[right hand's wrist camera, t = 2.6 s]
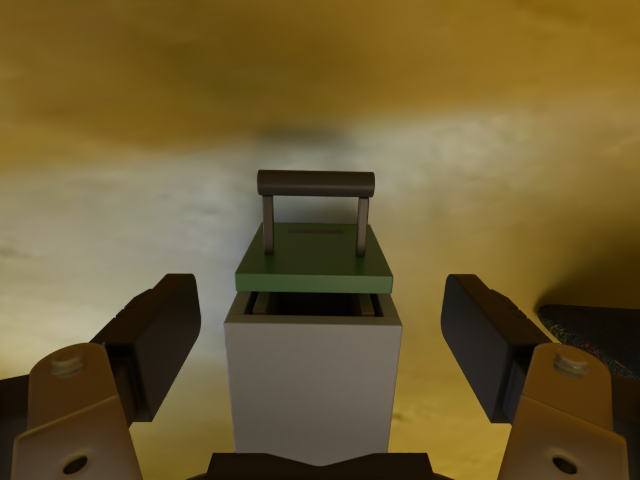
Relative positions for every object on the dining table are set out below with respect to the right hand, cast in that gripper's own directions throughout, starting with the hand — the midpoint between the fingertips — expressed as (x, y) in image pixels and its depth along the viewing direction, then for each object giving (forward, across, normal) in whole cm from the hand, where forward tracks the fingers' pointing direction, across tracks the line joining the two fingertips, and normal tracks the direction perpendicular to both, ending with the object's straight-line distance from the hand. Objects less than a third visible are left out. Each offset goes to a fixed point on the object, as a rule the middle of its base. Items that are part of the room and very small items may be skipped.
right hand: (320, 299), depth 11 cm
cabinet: (+19, +1, +14) cm, 24 cm away
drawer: (+18, 0, +8) cm, 20 cm away
